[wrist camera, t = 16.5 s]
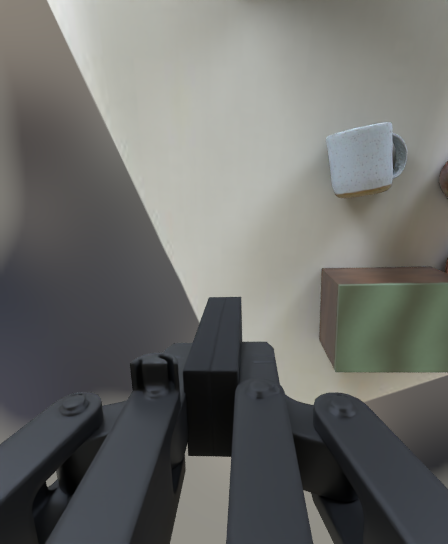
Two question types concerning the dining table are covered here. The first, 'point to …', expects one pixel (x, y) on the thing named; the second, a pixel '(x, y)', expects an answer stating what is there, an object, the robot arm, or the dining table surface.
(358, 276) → the chest
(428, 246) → the dining table surface
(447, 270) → the cup and saucer
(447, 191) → the candle
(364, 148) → the ceramic mug
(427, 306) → the lid
